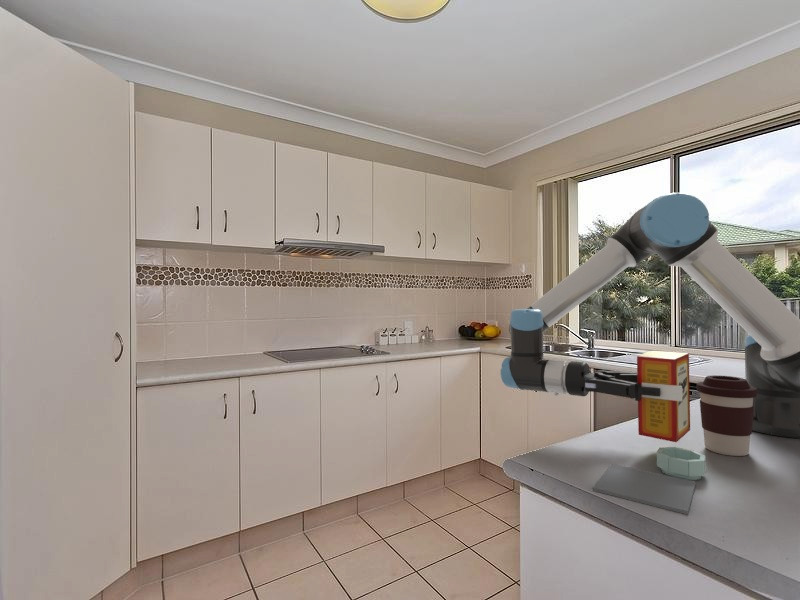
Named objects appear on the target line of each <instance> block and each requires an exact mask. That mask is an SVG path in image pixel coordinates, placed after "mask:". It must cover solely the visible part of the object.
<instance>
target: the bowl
mask: <svg viewBox="0 0 800 600" xmlns="http://www.w3.org/2000/svg"><path fill="white" fill-rule="evenodd" d="M706 460H707V459H706V455H704V454H702V453H700V452H697V451H695V450H693V449H687V448H682V447H678V446H677V447H676V446H668V447H665V446H664V447H658V449H657V450H656V466H657V467H659V468H660V469H661V470H662V471H661V472H662V473H663V474H664V473H665V474H664V475H666V474H667V476H668V475H669V476H672V477H677V478H681V479H686V480H691V481H698V480H697V479H699V480H701V479H702V476H705V474H706V469H707V468H706V467H707V466H706V465H707V463H706ZM700 478H701V479H700Z"/></svg>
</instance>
